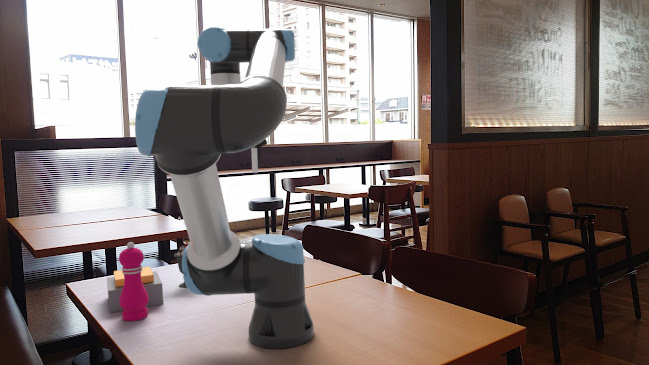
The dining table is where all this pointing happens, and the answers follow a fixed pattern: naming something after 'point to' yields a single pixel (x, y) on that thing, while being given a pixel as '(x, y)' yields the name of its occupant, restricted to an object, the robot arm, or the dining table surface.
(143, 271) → the button
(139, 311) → the pepper mill
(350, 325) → the dining table surface
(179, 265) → the sundae
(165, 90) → the robot arm
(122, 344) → the dining table surface
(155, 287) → the breaker box
